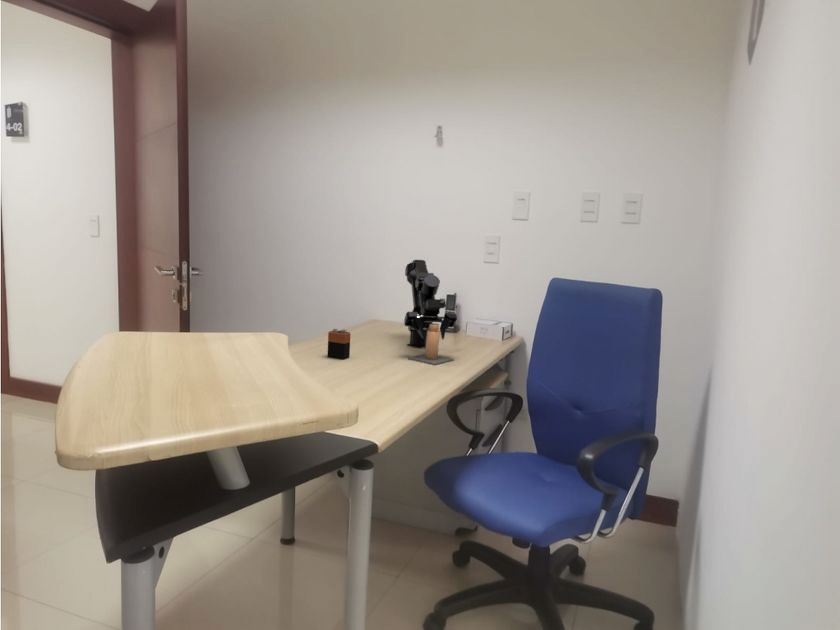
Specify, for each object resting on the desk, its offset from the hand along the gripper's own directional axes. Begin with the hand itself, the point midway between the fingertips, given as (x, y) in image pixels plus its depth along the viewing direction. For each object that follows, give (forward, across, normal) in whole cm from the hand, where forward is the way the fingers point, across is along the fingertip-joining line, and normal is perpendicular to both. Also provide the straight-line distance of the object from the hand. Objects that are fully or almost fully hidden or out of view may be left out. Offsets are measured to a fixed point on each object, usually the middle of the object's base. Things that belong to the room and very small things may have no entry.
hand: (433, 338), depth 205 cm
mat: (+5, 0, +7) cm, 8 cm away
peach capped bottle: (+4, 0, +6) cm, 8 cm away
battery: (+3, -33, +8) cm, 34 cm away
